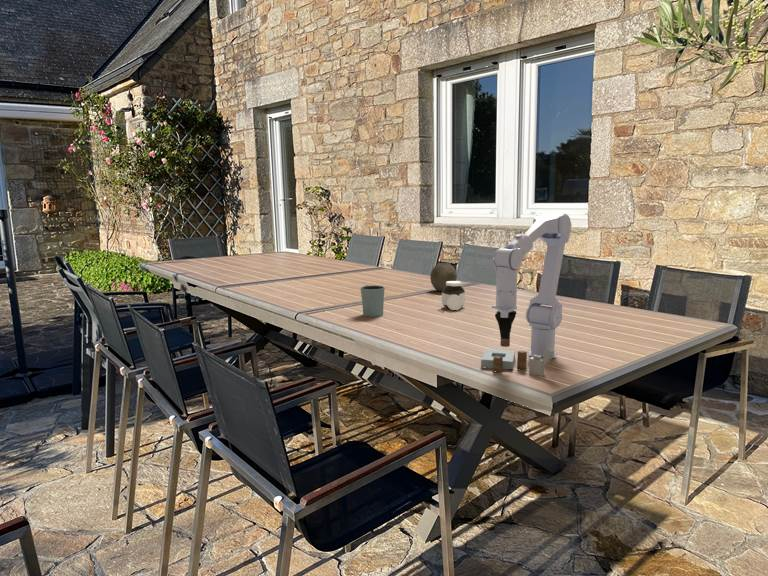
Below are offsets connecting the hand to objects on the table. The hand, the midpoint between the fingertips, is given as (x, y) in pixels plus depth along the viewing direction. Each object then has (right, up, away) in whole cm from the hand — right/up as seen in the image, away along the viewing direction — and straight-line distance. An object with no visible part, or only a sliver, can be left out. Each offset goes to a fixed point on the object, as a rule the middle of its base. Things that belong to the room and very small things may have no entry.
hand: (505, 337), depth 163 cm
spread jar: (-3, +5, +91) cm, 91 cm away
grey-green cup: (-40, +2, +78) cm, 87 cm away
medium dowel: (+5, -9, +1) cm, 11 cm away
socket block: (-1, -8, +7) cm, 11 cm away
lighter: (+9, -10, -5) cm, 14 cm away
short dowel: (-2, -10, -1) cm, 10 cm away
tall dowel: (0, -2, 0) cm, 2 cm away
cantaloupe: (-3, +12, +137) cm, 138 cm away
